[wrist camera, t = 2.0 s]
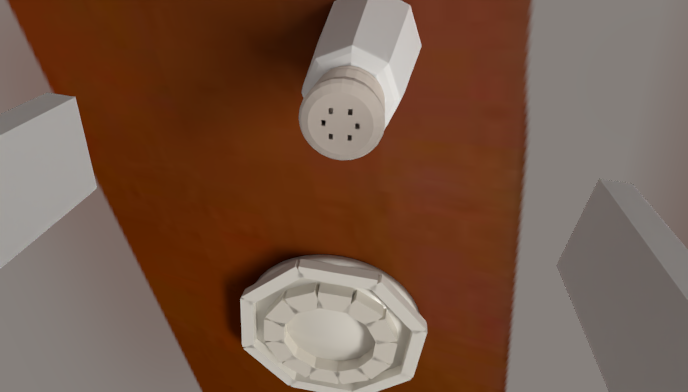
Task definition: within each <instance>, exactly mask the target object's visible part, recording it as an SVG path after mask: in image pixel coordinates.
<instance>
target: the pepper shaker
mask: <svg viewBox="0 0 688 392" xmlns="http://www.w3.org/2000/svg"><path fill="white" fill-rule="evenodd" d="M421 46H422V45H421V42H420V38H419V35H418V31H417V28H416V24H415V20H414V17H413V13H412V10H411V6H410V5H409V4H407V3H405V2H403V1H401V0H336V1H334V3H333V5H332V8H331V10H330V13H329V15H328V18H327V20H326V23H325V25H324V28H323V30H322V33H321V35H320V38H319V40H318V43H317V46H316V49H315V52H314V55H313V58H312V61H311V64H310V67H309V70H308V72H307V75H306V78H305V81H304V84H303V88H302V95H303V98H304V99H303V101H302V104H301V106H300V111H299V123H300V129H301V131H302V133H303V135H304V138H305V139H306V140H307V142H308V143H309V144H310V145H311V147H312V148H314V149H315V150H316V151H318V152H319V153H320V154H322V155H324V156H327V157H329V158H332V159H337V160H353V159H356V158H360V157H362V156H364V155H366V154H367V153H369V152H371V151H372V150H373V149H374V148H375V147H376V146H377V145H378V143H379V141H380V139H381V138H382V136H383V132H384V129H385V128H386V126H387V125H388V123H389V121H390V119H391V117H392V116H393V114H394V112H395V110H396V108H397V106H398V105H399V102H400V100H401V98H402V96H403V94H404V92H405V89H406V87H407V84H408V81H409V79H410V76H411V73H412V71H413V68H414V65H415V62H416V60H417V57H418V54H419V52H420V49H421Z"/></svg>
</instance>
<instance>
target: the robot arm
mask: <svg viewBox="0 0 688 392" xmlns="http://www.w3.org/2000/svg"><path fill="white" fill-rule="evenodd" d="M96 188H97V185H96V181H95V177H94V173H93V169H92V164H91V160H90V156H89V152H88V148H87V144H86V139H85V135H84V131H83V127H82V123H81V118H80V114H79V110H78V106H77V102H76V98H75V97H72V96H66V95H59V94H53V93H45V94H43V95H41V96H39V97H36V98H34V99H32V100H30V101H28V102H25V103H23V104H21V105H19V106H17V107H15V108H12V109H10V110H8V111H6V112H4V113H1V114H0V269H1V268H2V267H3V266H4V265H5V264H6V263H8V262H9V261H10V260H11V259H13V258H14V257H15V256H16V255H17V254H19V253H20V252H21V251H22V250H23V249H25V248H26V247H27V246H28V245H29V244H31V243H32V242H33V241H34V240H35V239H37V238H38V237H39V236H40V235H41V234H42V233H44V232H45V231H46V230H47V229H49V228H50V227H51V226H52V225H53V224H55V223H56V222H57V221H58V220H59V219H60V218H62V217H63V216H64V215H66V214H67V213H68V212H69V211H70V210H71V209H72V208H74V207H75V206H76V205H78V204H79V203H80V202H81V201H82V200H83V199H85V198H86V197H87V196H88V195H89V194H91V193H92V192H93V191H94V190H96ZM557 268H558V270H559V272H560V275H561V277H562V280H563V282H564V285H565V287H566V289H567V292H568V294H569V297H570V299H571V301H572V304H573V306H574V309H575V311H576V313H577V316H578V318H579V321H580V323H581V326H582V328H583V330H584V333H585V335H586V337H587V340H588V342H589V345H590V347H591V350H592V352H593V354H594V357H595V359H596V362H597V364H598V366H599V369H600V371H601V374H602V376H603V379H604V381H605V383H606V386H607V388H608V390H609V392H688V250H687V248H686V247H685V246H684V245H683V244H682V242H681V241H680V240H679V239H678V238H677V236H676V235H675V234H674V233H673V232H672V230H671V229H670V228H669V227H668V226H667V224H666V223H665V222H664V221H663V220H662V218H661V217H660V216H659V215H658V214H657V212H656V211H655V210H654V209H653V208H652V207H651V205H650V204H649V203H648V202H647V201H646V199H645V198H644V197H643V196H642V195H641V193H640V192H639V191H638V190H637V189H636V187H635V186H634V185H633V184H631V183H625V182H619V181H612V180H605V179H599V180H598V182H597V184H596V186H595V188H594V190H593V193H592V194H591V196H590V198H589V200H588V202H587V205H586V207H585V209H584V211H583V213H582V215H581V217H580V219H579V221H578V223H577V225H576V227H575V229H574V231H573V233H572V235H571V237H570V239H569V241H568V243H567V245H566V247H565V249H564V251H563V253H562V255H561V257H560V260H559V262H558V264H557Z"/></svg>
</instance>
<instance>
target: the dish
mask: <svg viewBox="0 0 688 392" xmlns="http://www.w3.org/2000/svg"><path fill="white" fill-rule="evenodd" d="M240 308H241V333H242V346H243V347H244V348H243V349H244V350H246V351H247V352H248V353H249V354H251V355H252V356H253V357H254V358H255V359H257V360H258V361H259V362H260V363H262V364H263V365H264V366H265V367H266V368H268V369H269V370H270V371H271V372H273V373H274V374H275V375H276V376H277V377H279V378H280V379H281V380H282V381H283V382H285V383H286V384H287V385H291V387H295V388H300V389H306V390H311V391H316V392H377V391H380V390H383V389H386V388H389V387H391V386H394V385H397V384H400V383H403V382H406V381H409V380H411V378H413V376H414V373H415V370H416V366H417V363H418V360H419V357H420V354H421V351H422V347H423V344H424V341H425V338H426V335H427V324H426V321H425V320H424V318H423V317H422V316H421V315H420V313H419V311H418V308H417V305H416V303H415V302H414V300H413V298H412V297H411V295H410V294H409V293H408V292H407V290H406V289H405V288H404V287H403V286H402V285H401V284H400V283H399V282H398V281H397V280H395V279H394V278H393V277H391V276H390V275H389V274H387V273H385V272H384V271H382V270H380V269H378V268H376V267H374V266H372V265H370V264H367V263H365V262H362V261H359V260H356V259H352V258H348V257H343V256H336V255H318V254H316V255H305V256H300V257H295V258H291V259H288V260H285V261H283V262H281V263H278V264H276V265H274V266H273V267H271V268H270V269H268V270H267V271H266V272H265V273H264V274H262V275H261V276H260V277H259V279H258V280H257V281H256V283H255V284H253V285H252V286H250V287H248V288H246V289H245V290H244V292H243V294H242V296H241V298H240Z"/></svg>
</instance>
